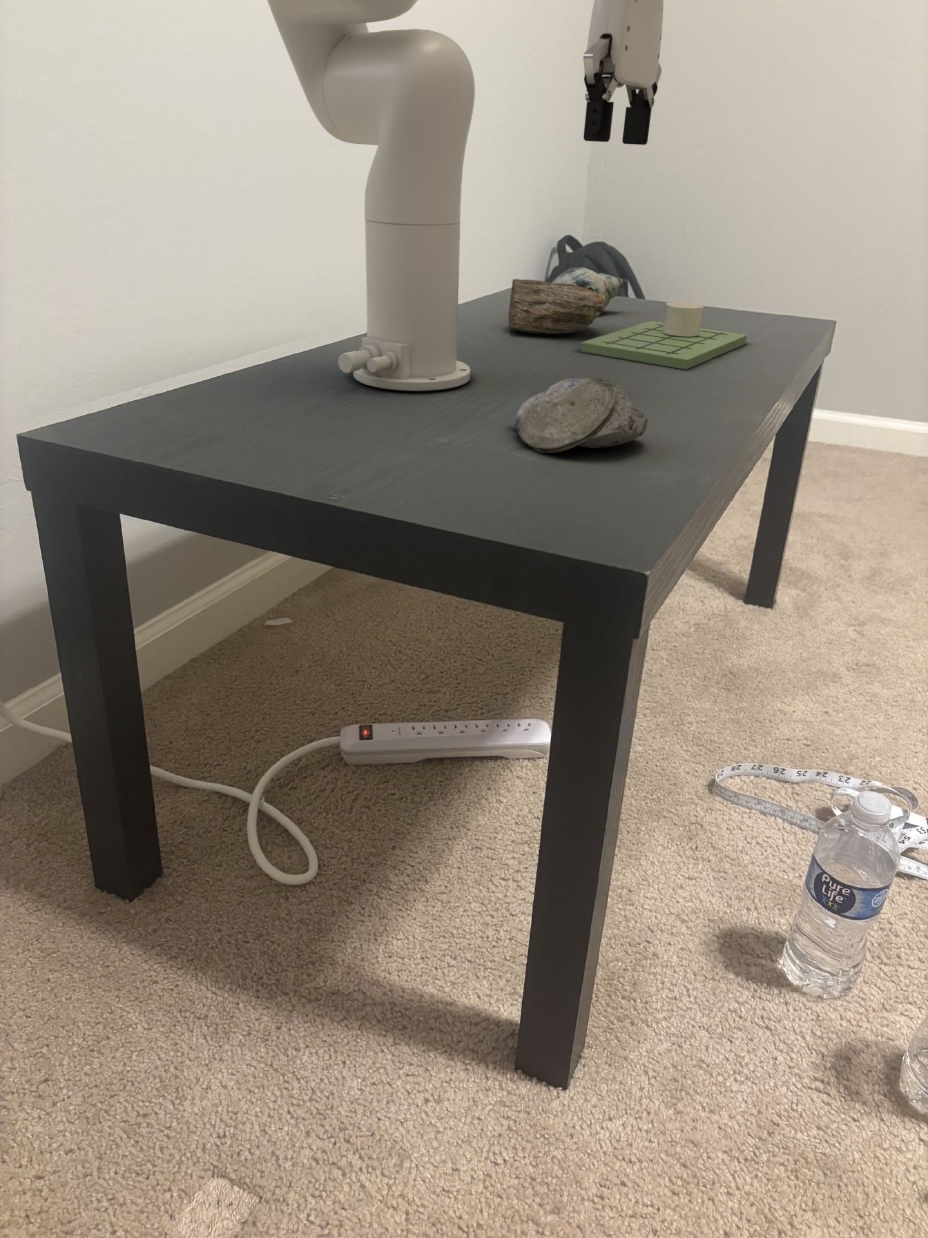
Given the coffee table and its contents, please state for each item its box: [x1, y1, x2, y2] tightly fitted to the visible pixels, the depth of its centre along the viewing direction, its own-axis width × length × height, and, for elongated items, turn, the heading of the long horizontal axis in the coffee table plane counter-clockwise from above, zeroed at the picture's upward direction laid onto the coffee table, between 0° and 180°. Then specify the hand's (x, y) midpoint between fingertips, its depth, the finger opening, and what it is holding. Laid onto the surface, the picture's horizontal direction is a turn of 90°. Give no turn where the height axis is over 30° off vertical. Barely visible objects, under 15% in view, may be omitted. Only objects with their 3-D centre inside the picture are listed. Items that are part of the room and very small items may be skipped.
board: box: [580, 320, 748, 370], centre depth 116 cm, size 20×14×1 cm
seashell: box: [551, 266, 627, 308], centre depth 136 cm, size 6×8×12 cm
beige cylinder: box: [662, 301, 705, 337], centre depth 118 cm, size 5×5×4 cm
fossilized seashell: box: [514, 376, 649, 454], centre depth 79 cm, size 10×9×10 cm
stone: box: [507, 278, 606, 335], centre depth 122 cm, size 14×10×10 cm
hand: (616, 142), depth 108 cm, fingers open, 9 cm apart
